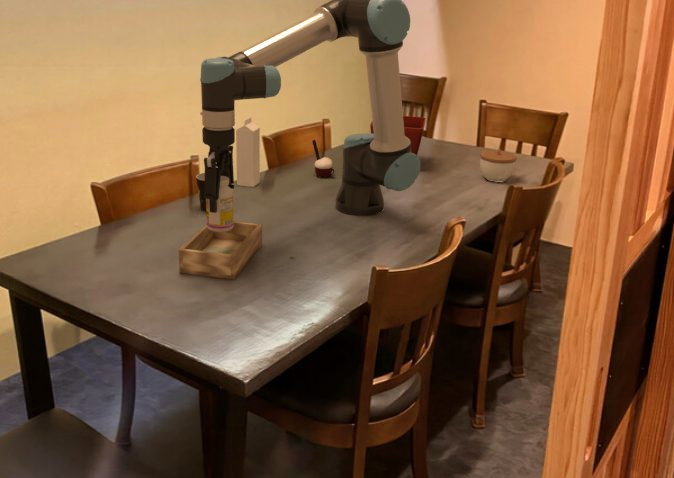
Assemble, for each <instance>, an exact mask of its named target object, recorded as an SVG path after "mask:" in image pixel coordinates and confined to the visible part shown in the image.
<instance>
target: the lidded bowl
mask: <svg viewBox="0 0 674 478" xmlns="http://www.w3.org/2000/svg"><path fill="white" fill-rule="evenodd" d="M516 161H517V156H516V154H513V153H512V152H508V151H504V150H503V151H502V149H497V150H484V151H482V152H480V155H479V170H480V173H481V175H482V176H483V177H484V179H485V178H486V179H489V180H493V181H504V180H505V181H506V180H507V179H509V178H511V176H512V175H513V172H514V170H515V167H516ZM486 179H485V180H486Z"/></svg>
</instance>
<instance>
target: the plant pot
mask: <svg viewBox="0 0 674 478" xmlns="http://www.w3.org/2000/svg"><path fill="white" fill-rule="evenodd" d="M426 119H427V118H426V117H425V116H424V117H423V116H412V115H411V116H409V115H403V122H404V135H405V136H406V137H407V138H409V139H410V142H411V152H412V153H414V154H416V156H418V153H419V150H420V146H421V143H422V142H421V141H422V138H423V134H424V130H425V125H426ZM369 126H370V127H369V128H370V133H372V134H374V131H373V121H372V120H371V123H370V124H369Z"/></svg>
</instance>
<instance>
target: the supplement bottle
mask: <svg viewBox="0 0 674 478" xmlns="http://www.w3.org/2000/svg"><path fill="white" fill-rule="evenodd" d="M228 185H229V178H228V177H226V176H221V178H220V188H219V198H220V212H221V224H220V225H215V224H209V203H208V199H206V211H205V212H206V213H205V214H206V224H207V228H208V229H209V230H211V231H215V232H225V231H229V230H231V229H232V228H233V226H234V219H235V218H234V214H235V213H234V211H235V210H234V190H233V189H231V188H230V187H228Z"/></svg>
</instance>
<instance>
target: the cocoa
mask: <svg viewBox="0 0 674 478" xmlns="http://www.w3.org/2000/svg"><path fill="white" fill-rule="evenodd" d="M312 146H313V148H314V149H313V151H314V153H315V157H316V161H315V162H314V172H315V175H316V176H317V177H318V178H323V179H324V178H328V177H331V176H333V175H334V174H335V169H334V168H333V160H332V159H331V158H329V157H322V158H321V156H320V153H319V148H318V145H317V141H316V139H313V140H312Z"/></svg>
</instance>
